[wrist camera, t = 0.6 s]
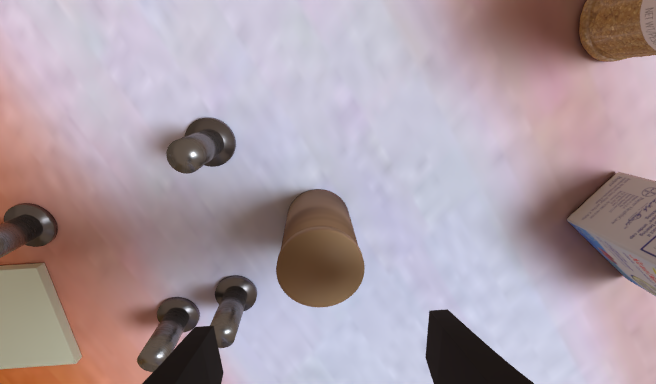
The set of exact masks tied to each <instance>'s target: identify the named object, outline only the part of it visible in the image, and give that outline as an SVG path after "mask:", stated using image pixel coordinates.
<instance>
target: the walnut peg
mask: <svg viewBox="0 0 656 384" xmlns="http://www.w3.org/2000/svg"><path fill="white" fill-rule="evenodd" d="M276 274H277V279H278V282H279V284H280V286H281V288H282V289H283V291H284V292H285V293H286V294H287V295H288V296H289V297H290V298H291V299H293V300H295V301H296V302H298V303H300V304H303V305H306V306H311V307H328V306H332V305H336V304H338V303H341V302H343V301H344V300H346V299H348V298H349V297H350V296H351V295H353V294H354V292H355V291H356V290H357V289H358V287H359V286H360V284H361V282H362V279H363V276H364V261H363V257H362V254H361V251H360V248H359V247H358V244H357V240H356V237H355V233H354V230H353V226H352V223H351V219H350V216H349V212H348V209H347V207H346V205H345V203H344V202H343V200H342V199H341V198H340V197H339V196H337V195H336V194H334V193H333V192H330V191H327V190H321V189H316V190H310V191H307V192H304V193H302V194H301V195H299V196H298V197H297V198H296V199H295V200H294V201H293V202H292V204H291V206H290V208H289V211H288V215H287V220H286V225H285V230H284V236H283V241H282V246H281V251H280V253H279V256H278V261H277V267H276Z"/></svg>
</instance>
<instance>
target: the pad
mask: <svg viewBox="0 0 656 384" xmlns="http://www.w3.org/2000/svg"><path fill="white" fill-rule="evenodd" d="M81 357H82V355H81V353H80V350H79V348H78V345H77V343H76V340H75V338H74V335H73V333H72V330H71V328H70V325H69V323H68V320H67V318H66V315H65V313H64V310H63V308H62V305H61V303H60V300H59V298H58V295H57V293H56V290H55V288H54V285H53V283H52V280H51V278H50V275H49V273H48V271H47V268H46V266H45V263H34V264H18V265H2V266H0V369H10V368H24V367H38V366H51V365H65V364H76V363H77V362H78V361H79V360H80V359H81Z"/></svg>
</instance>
